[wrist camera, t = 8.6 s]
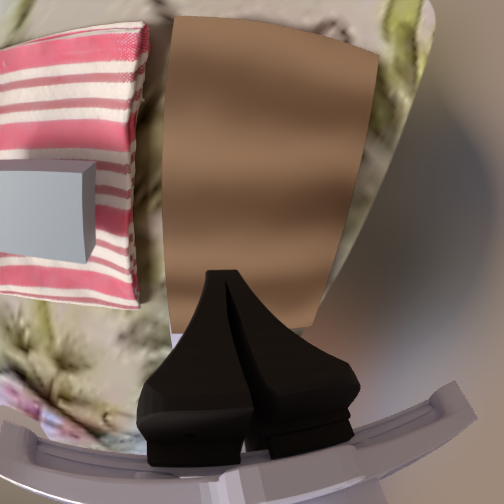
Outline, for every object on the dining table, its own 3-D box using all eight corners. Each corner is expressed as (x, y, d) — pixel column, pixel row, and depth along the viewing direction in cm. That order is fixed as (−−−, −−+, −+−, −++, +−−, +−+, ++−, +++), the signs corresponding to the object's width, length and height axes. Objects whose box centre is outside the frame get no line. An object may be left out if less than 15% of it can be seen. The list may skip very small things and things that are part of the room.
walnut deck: (298, 297, 27) (311, 326, 24) (172, 301, 25) (171, 333, 21) (348, 58, 16) (379, 55, 12) (179, 31, 13) (174, 16, 10)
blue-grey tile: (96, 243, 18) (86, 264, 15) (3, 232, 15) (-12, 249, 13) (96, 161, 15) (82, 173, 13) (-6, 159, 12) (-25, 171, 10)
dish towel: (162, 27, 13) (155, 14, 10) (144, 301, 25) (140, 328, 22) (-19, 59, 9) (-43, 61, 6) (5, 286, 21) (-8, 307, 18)
